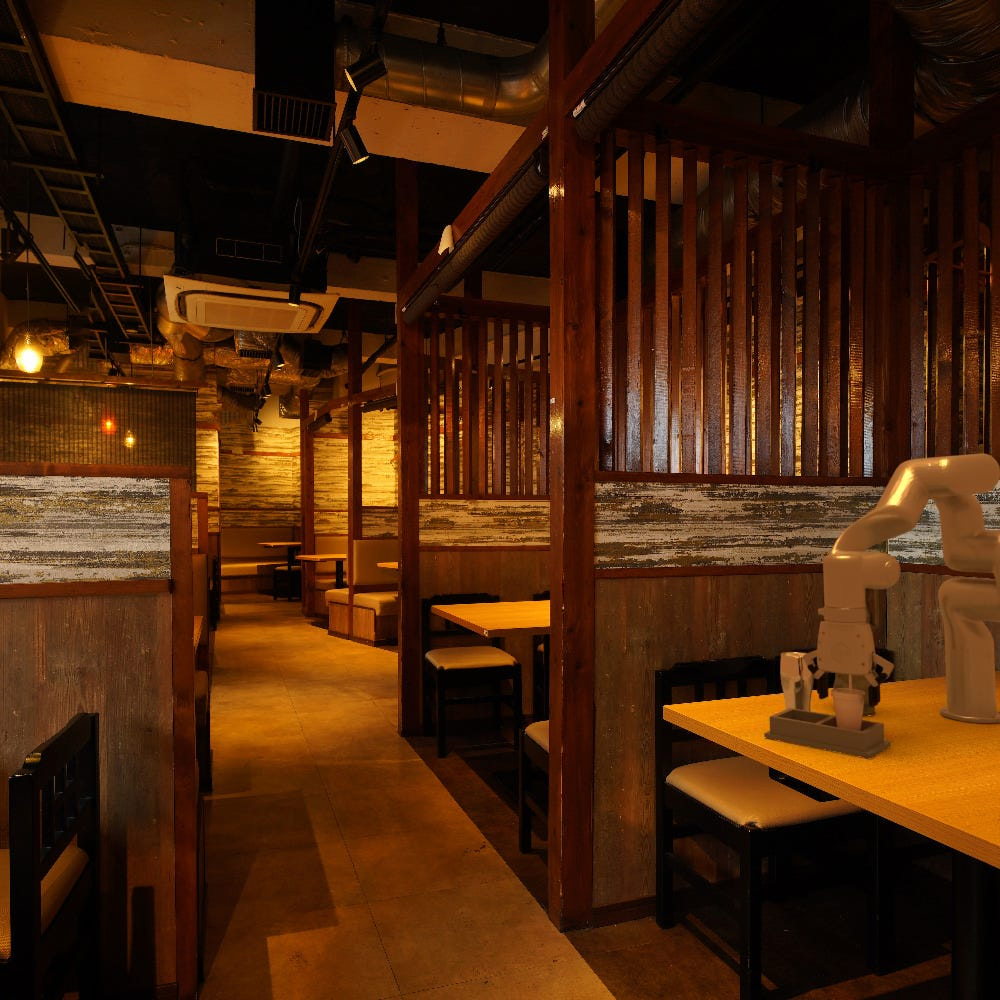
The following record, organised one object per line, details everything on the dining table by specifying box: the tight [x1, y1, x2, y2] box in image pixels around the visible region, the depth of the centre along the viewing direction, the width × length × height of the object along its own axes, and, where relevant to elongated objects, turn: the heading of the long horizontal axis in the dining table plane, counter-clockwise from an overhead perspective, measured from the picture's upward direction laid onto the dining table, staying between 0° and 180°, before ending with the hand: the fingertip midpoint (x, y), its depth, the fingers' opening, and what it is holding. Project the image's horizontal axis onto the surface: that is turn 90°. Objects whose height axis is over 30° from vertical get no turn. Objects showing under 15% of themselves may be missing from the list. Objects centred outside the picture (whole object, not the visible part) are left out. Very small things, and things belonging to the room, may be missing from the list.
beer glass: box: [779, 651, 814, 711], centre depth 169 cm, size 7×7×15 cm
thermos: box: [832, 588, 880, 717], centre depth 177 cm, size 9×12×35 cm
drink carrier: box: [763, 708, 892, 760], centre depth 152 cm, size 11×21×4 cm, turn 45°
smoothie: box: [830, 675, 866, 731], centre depth 149 cm, size 6×6×14 cm
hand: (848, 701), depth 149 cm, fingers open, 9 cm apart
